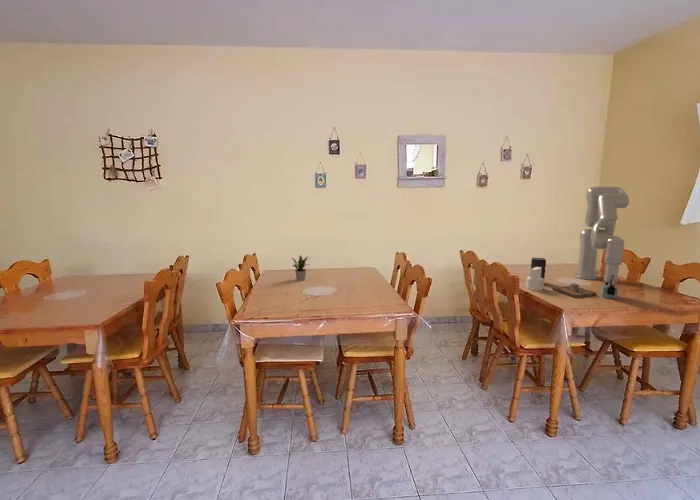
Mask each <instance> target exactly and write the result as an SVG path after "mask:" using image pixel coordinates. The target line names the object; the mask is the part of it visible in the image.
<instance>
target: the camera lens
mask: <svg viewBox="0 0 700 500" xmlns="http://www.w3.org/2000/svg"><path fill="white" fill-rule="evenodd" d="M546 260H547V259H546V258H544V257H531V259H530V261H531V262H530V270H531V269H532V268H535V267H542V270H541V278H543V279H544V280H545V277H546V267H547V261H546ZM529 274H531V272H530V273H529Z"/></svg>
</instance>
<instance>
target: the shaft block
mask: <svg viewBox="0 0 700 500" xmlns="http://www.w3.org/2000/svg"><path fill="white" fill-rule="evenodd" d="M552 291H553V292H556V293H559V294H563V295H565V296H568V297H571V298H573V299H579V298H585V297H586V298H587V297H595V296H597V292H595V291H592V290H589V289H585V288H583V287H580V284H579V283H575V282H574V283H573V282H572V283H570V285H566V286H558V287H557V286H555V287H552Z"/></svg>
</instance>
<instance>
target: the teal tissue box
mask: <svg viewBox="0 0 700 500" xmlns="http://www.w3.org/2000/svg"><path fill="white" fill-rule="evenodd" d="M608 287H609V284H608V285H605V284H602V285H601V292H600V295H602V296H601V297H602V298H605V299H612V298H616V299H615V300H617V299H618V292H619V288H618V286H616V285H615V294H614V295H608V294H607V290H608Z"/></svg>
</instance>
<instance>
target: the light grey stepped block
mask: <svg viewBox="0 0 700 500" xmlns="http://www.w3.org/2000/svg"><path fill="white" fill-rule="evenodd" d="M541 270H542V267H535V268H532V269H531V268H530V273H531V274H530V273H529V274H530V275H529V276H527V277H526V285H525V288H526V289H527V290H531V291H543V290H544V286H545V285H544V284H545V278H544V279H543V278H541Z"/></svg>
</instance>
